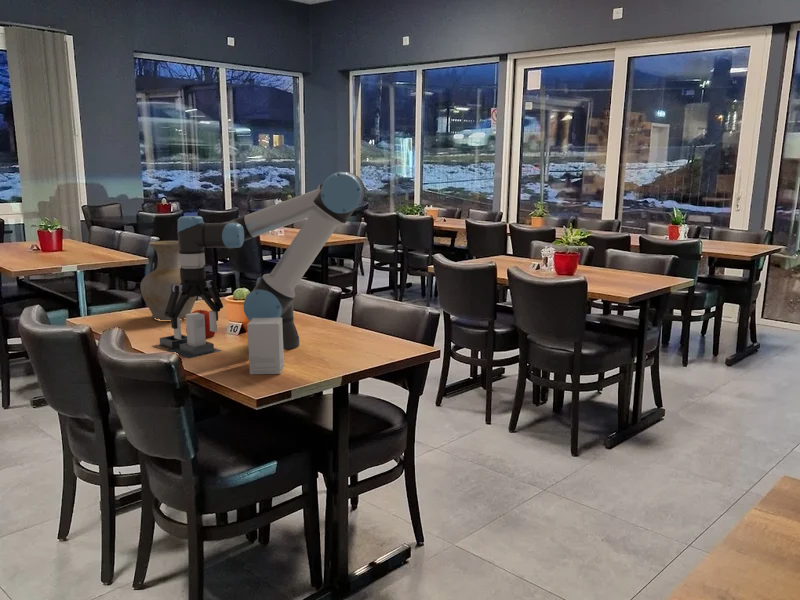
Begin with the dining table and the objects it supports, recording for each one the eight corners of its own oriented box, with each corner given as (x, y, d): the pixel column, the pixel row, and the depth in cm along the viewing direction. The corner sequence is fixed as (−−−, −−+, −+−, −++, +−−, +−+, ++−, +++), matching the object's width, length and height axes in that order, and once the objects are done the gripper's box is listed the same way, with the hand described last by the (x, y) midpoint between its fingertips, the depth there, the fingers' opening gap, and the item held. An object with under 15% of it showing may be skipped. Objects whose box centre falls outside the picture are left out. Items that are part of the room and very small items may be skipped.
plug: (207, 351, 209) (205, 314, 207) (196, 354, 206) (194, 316, 204) (199, 349, 212) (197, 312, 210) (187, 351, 209) (185, 314, 207)
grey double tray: (222, 354, 211) (222, 343, 210) (189, 362, 202) (188, 350, 202) (184, 342, 225) (183, 332, 225) (151, 349, 216) (150, 338, 216)
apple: (223, 337, 233) (221, 308, 231) (203, 344, 224) (201, 313, 222) (200, 334, 237) (198, 305, 235) (179, 340, 228) (177, 311, 226)
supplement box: (284, 365, 199) (283, 316, 196) (280, 374, 190) (279, 323, 188) (254, 365, 199) (252, 317, 196) (248, 374, 190) (246, 323, 187)
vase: (187, 310, 279) (183, 238, 273) (209, 318, 262) (206, 242, 256) (134, 316, 265) (129, 241, 259) (154, 326, 248) (148, 246, 243)
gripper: (218, 261, 216) (221, 326, 220) (149, 269, 198) (154, 339, 202) (232, 263, 211) (235, 330, 215) (162, 272, 193) (167, 344, 197)
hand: (196, 334), depth 209 cm, fingers open, 12 cm apart
